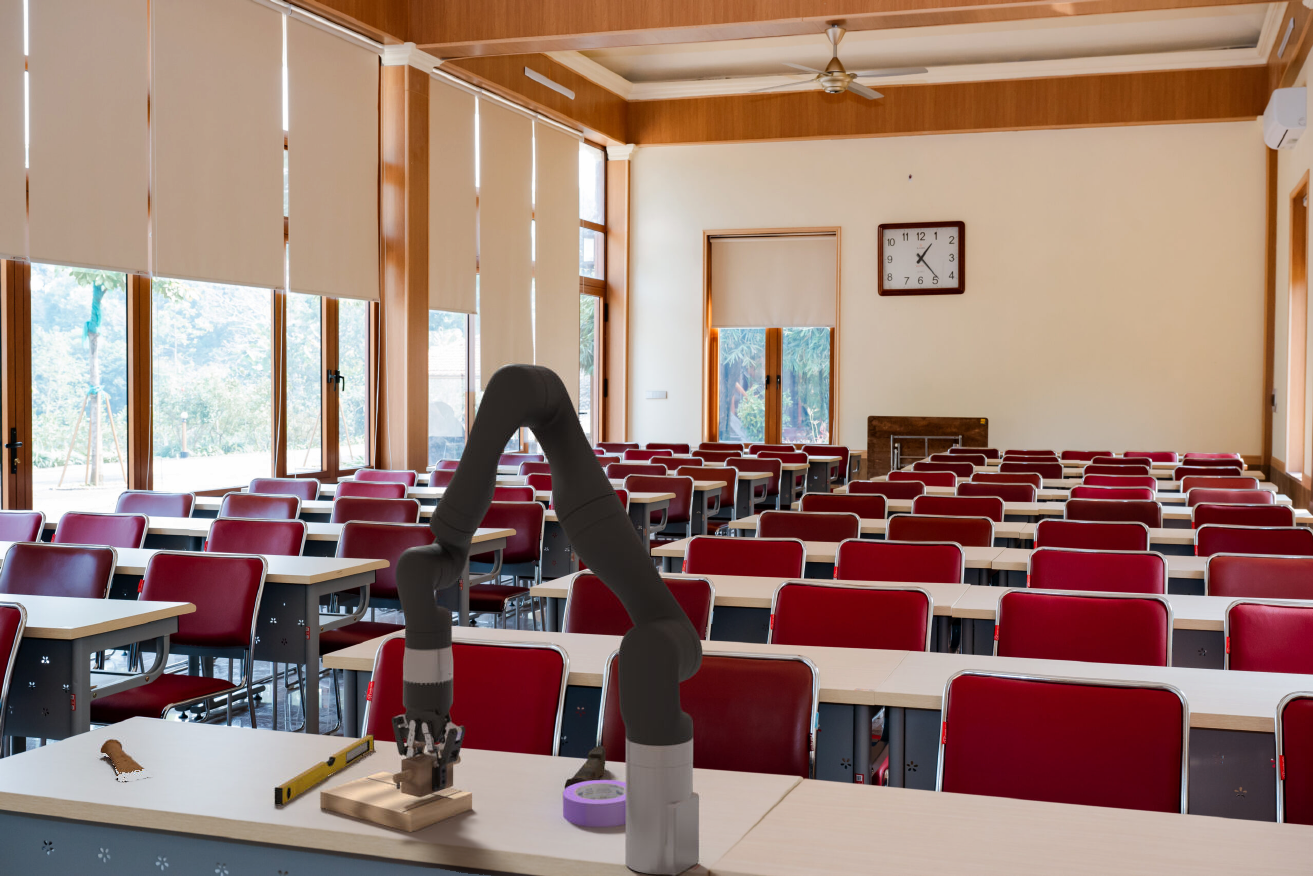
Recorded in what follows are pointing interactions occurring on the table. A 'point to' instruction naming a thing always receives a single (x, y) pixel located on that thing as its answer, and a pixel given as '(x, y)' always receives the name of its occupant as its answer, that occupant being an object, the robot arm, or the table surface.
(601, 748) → the hand tool
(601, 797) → the masking tape
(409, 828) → the oak board
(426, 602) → the robot arm
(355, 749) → the spirit level
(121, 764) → the primitive tool
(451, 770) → the tan peg block
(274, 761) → the table surface
